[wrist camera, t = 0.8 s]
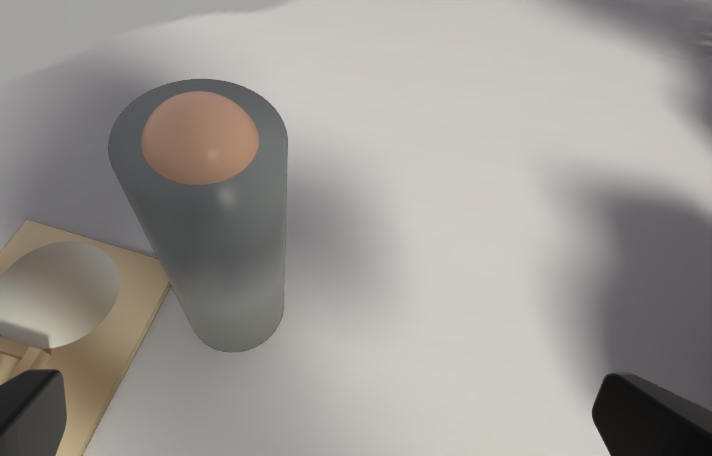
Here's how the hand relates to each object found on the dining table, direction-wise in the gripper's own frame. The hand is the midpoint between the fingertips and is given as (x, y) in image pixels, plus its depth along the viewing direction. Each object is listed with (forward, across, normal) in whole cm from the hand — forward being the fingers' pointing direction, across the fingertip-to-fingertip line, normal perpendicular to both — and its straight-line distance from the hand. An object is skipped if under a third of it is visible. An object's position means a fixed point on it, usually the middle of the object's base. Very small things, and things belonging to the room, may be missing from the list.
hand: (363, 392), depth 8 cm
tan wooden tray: (+14, +11, +9) cm, 20 cm away
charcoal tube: (+15, +3, +7) cm, 17 cm away
